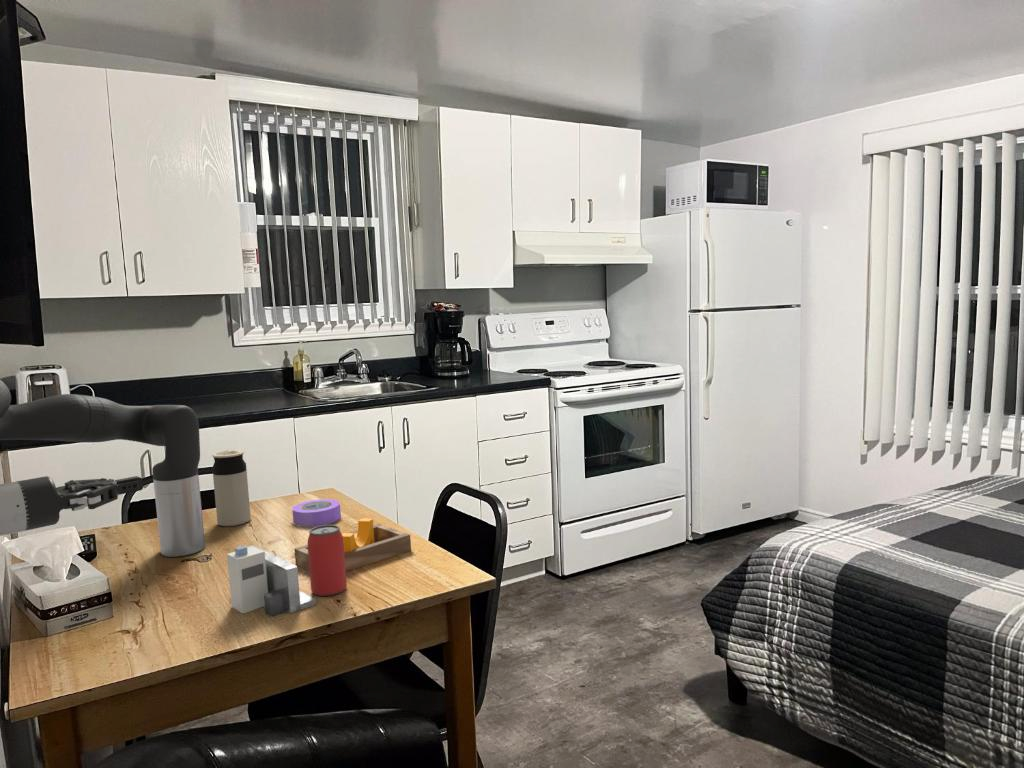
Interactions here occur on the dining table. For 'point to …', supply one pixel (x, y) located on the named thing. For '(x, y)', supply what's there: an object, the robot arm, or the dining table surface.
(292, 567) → the rail
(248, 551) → the white rectangular block
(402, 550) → the parts corral
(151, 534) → the dining table surface
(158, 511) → the robot arm
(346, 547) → the pipe clamp
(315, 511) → the masking tape
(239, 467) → the travel mug
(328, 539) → the beer can
